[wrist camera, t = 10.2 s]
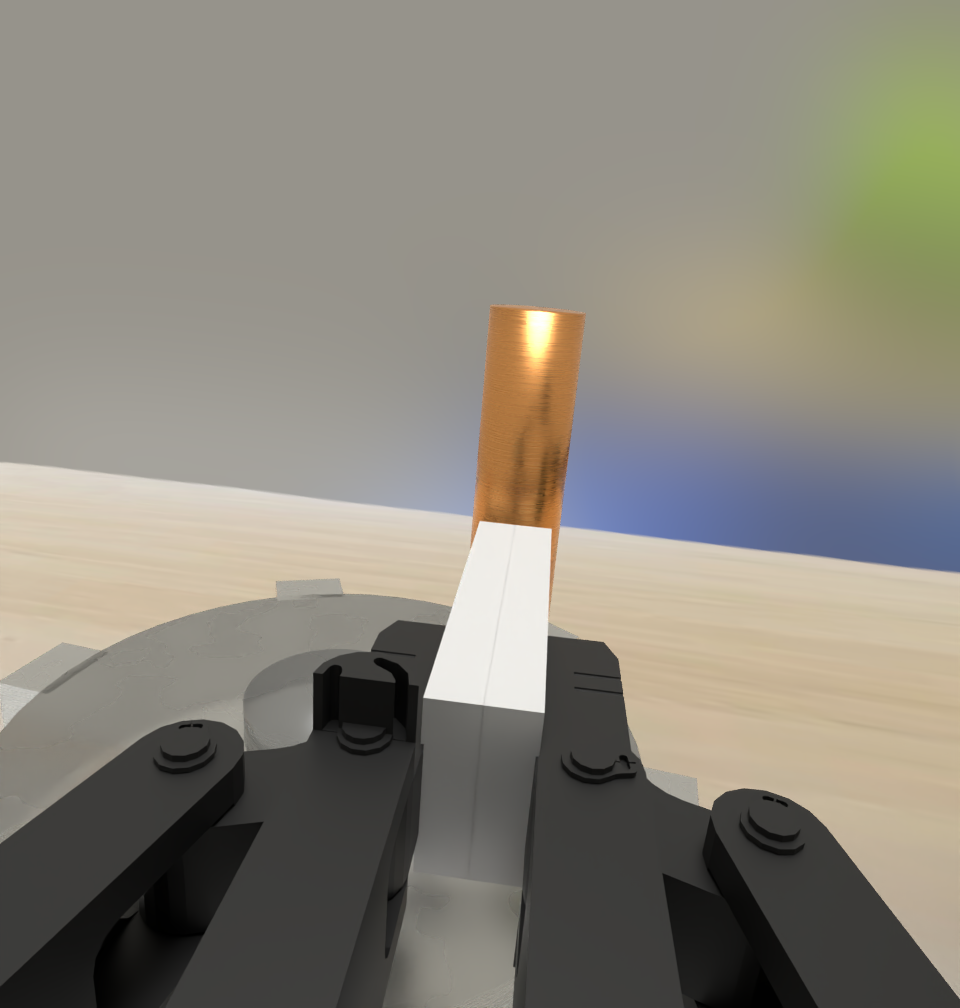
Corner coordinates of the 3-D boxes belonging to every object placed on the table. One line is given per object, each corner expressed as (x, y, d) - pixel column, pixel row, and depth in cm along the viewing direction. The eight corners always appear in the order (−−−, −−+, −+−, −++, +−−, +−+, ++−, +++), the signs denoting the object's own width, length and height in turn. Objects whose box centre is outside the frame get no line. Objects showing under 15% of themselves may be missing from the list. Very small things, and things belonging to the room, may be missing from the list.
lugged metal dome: (96, 1649, 9) (-129, 452, 4) (-166, 802, 21) (-298, 256, 16) (777, 820, 24) (898, 349, 19) (390, 604, 36) (404, 286, 31)
